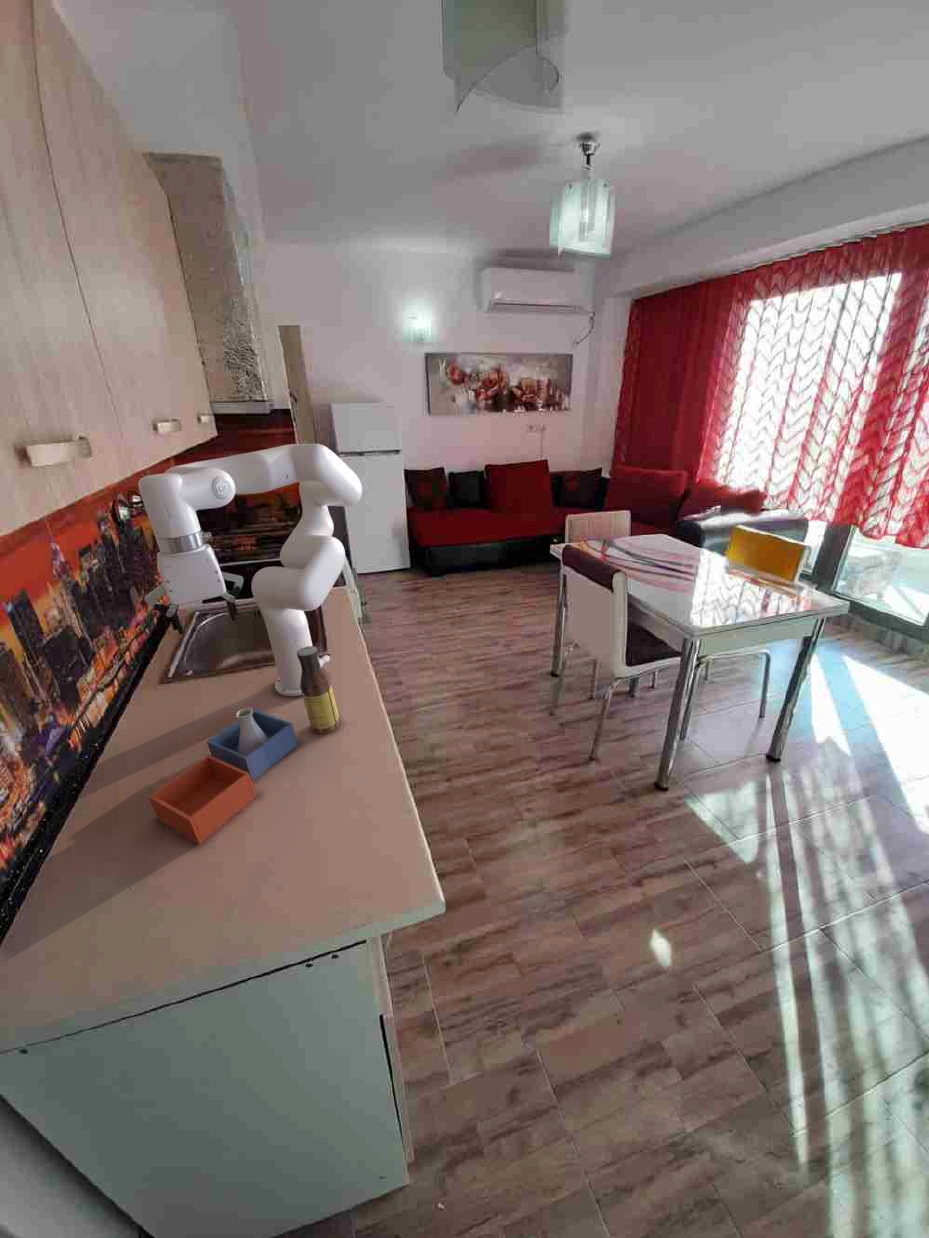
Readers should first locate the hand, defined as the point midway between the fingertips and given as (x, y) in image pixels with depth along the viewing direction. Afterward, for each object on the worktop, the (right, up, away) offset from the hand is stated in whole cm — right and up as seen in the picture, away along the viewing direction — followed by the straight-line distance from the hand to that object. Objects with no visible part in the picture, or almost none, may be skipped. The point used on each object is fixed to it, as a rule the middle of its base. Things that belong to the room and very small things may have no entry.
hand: (207, 625), depth 95 cm
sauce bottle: (+21, -23, +11) cm, 33 cm away
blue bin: (+8, -27, +4) cm, 28 cm away
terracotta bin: (+5, -33, -9) cm, 35 cm away
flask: (+8, -27, +3) cm, 28 cm away
